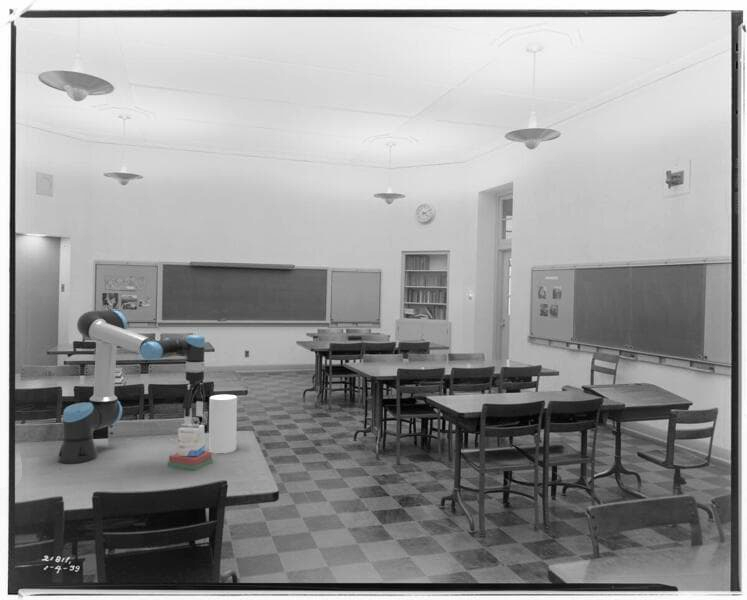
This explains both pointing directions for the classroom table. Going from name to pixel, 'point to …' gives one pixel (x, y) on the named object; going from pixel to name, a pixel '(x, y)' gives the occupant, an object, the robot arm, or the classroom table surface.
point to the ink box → (191, 440)
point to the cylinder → (222, 423)
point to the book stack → (190, 461)
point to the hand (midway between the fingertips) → (193, 419)
